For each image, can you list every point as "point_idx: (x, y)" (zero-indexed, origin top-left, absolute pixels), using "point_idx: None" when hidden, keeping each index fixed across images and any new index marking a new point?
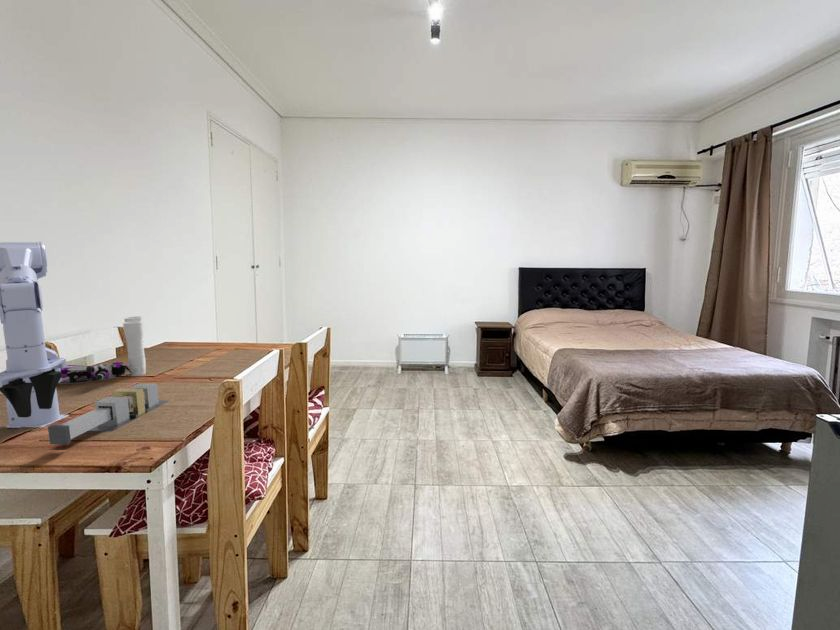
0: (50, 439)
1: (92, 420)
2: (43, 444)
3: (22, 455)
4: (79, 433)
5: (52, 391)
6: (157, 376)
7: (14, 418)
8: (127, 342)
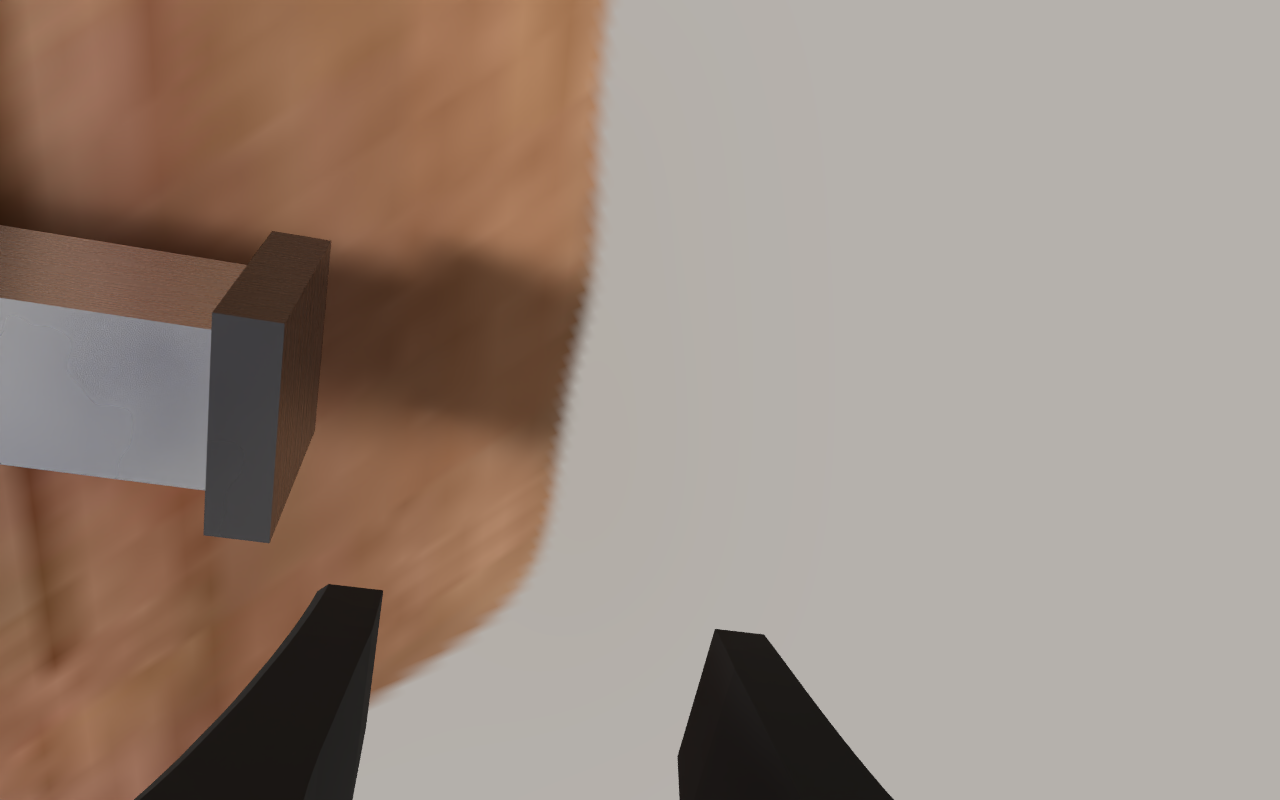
0: (304, 446)
1: None
2: (145, 576)
3: (385, 588)
4: (84, 245)
5: (242, 782)
6: None
7: None
8: None
